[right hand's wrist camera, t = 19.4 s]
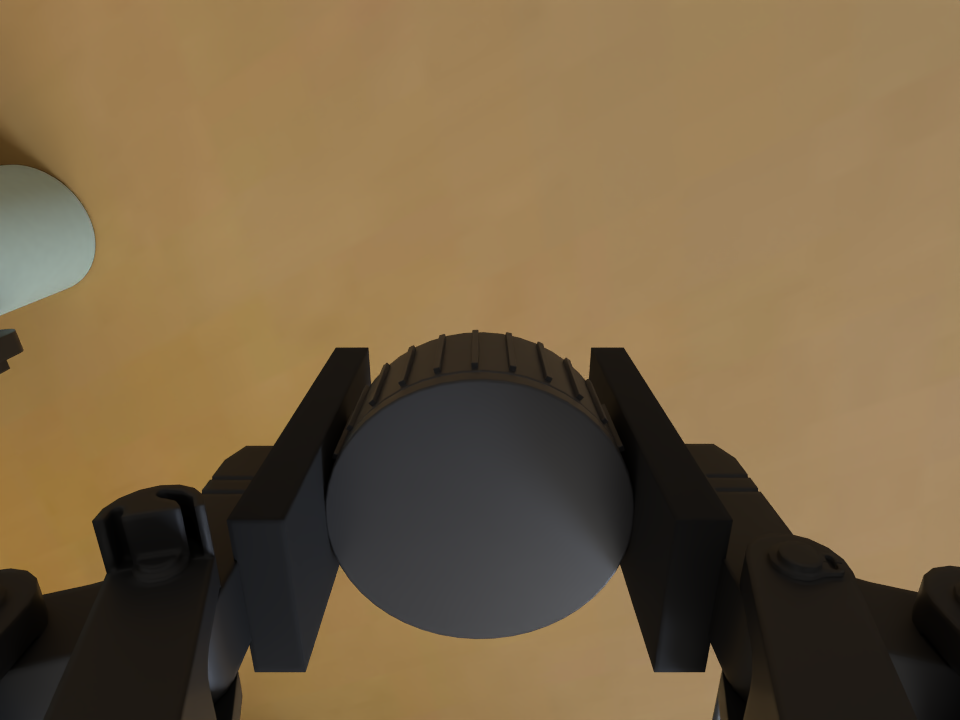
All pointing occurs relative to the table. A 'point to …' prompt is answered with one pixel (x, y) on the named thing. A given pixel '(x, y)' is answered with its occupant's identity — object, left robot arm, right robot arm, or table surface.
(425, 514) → the lid
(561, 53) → the table surface
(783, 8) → the table surface
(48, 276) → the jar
